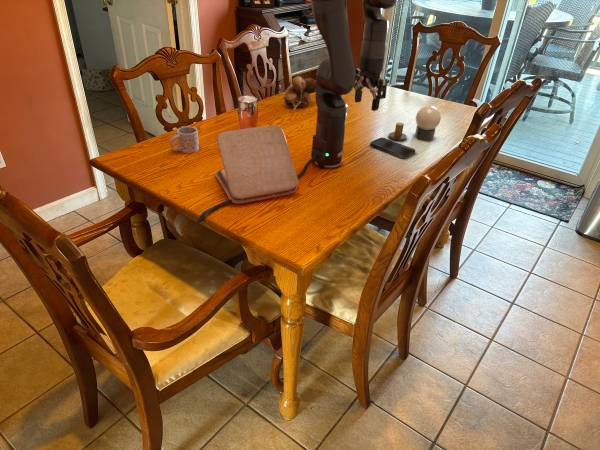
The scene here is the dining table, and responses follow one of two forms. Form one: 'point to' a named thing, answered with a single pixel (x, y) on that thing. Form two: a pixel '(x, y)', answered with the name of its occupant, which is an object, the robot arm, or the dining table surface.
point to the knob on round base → (398, 133)
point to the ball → (428, 118)
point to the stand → (424, 134)
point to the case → (256, 164)
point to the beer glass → (247, 111)
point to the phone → (393, 148)
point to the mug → (186, 140)
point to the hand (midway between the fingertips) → (366, 106)
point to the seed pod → (300, 92)
